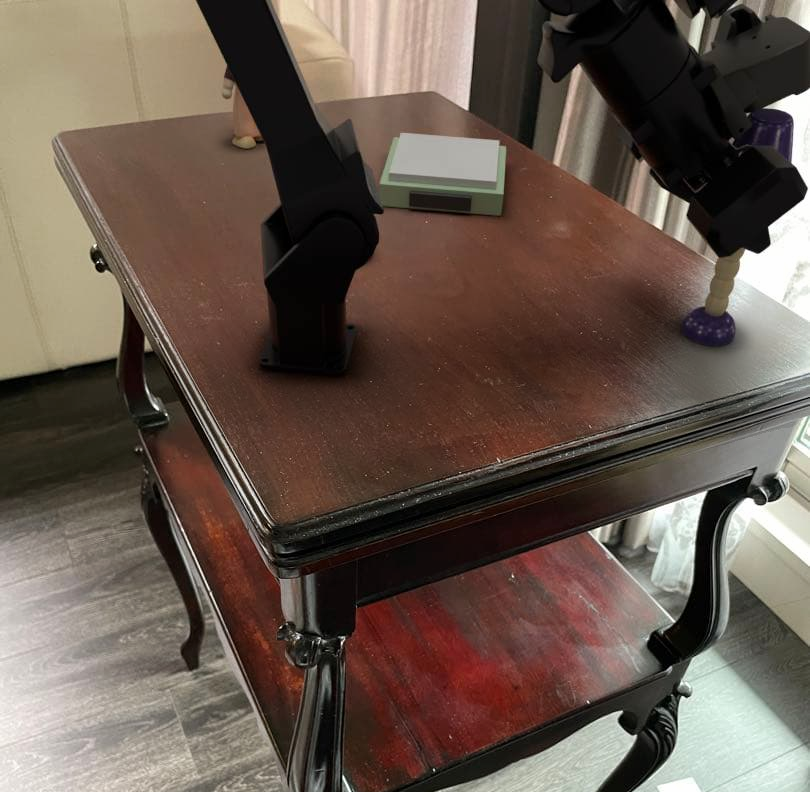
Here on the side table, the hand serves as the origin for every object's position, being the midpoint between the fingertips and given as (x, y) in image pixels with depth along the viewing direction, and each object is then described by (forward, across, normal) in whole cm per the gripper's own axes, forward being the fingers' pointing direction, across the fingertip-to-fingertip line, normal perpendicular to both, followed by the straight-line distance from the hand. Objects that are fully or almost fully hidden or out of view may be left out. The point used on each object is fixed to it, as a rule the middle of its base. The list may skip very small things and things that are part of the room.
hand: (752, 236), depth 63 cm
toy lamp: (+5, 0, +7) cm, 8 cm away
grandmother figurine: (-20, +42, +32) cm, 57 cm away
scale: (-7, +29, +18) cm, 35 cm away
